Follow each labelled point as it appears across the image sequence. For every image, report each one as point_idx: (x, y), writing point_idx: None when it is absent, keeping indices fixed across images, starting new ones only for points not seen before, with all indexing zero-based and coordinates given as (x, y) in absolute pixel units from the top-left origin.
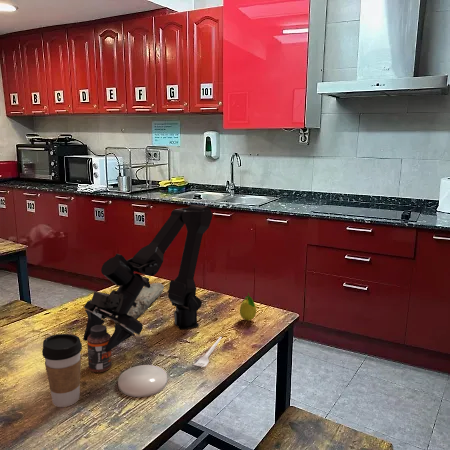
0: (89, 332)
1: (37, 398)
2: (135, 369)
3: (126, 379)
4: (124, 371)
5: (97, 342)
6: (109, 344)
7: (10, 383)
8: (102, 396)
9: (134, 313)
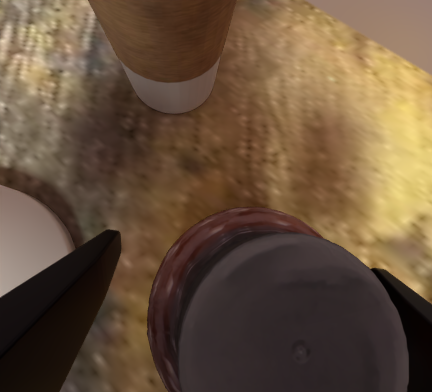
0: (410, 339)
1: (252, 46)
2: None
3: (17, 242)
4: None
5: (192, 230)
6: (60, 259)
7: (383, 61)
8: (71, 138)
9: None
